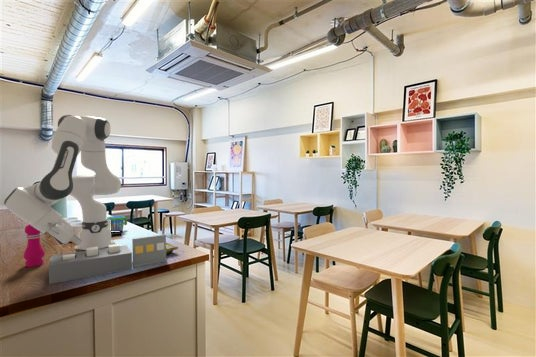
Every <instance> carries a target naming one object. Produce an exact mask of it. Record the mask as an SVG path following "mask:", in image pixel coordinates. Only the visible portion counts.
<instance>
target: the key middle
mask: <svg viewBox="0 0 536 357" xmlns="http://www.w3.org/2000/svg"><path fill="white" fill-rule="evenodd" d="M85 251H86V254H87V256H94V255H98V247H89V248H86V250H85Z"/></svg>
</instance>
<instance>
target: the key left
mask: <svg viewBox="0 0 536 357" xmlns="http://www.w3.org/2000/svg"><path fill="white" fill-rule="evenodd" d="M74 258H75V254H68V255H63V260H67V259H74Z"/></svg>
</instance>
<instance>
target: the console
mask: <svg viewBox="0 0 536 357" xmlns="http://www.w3.org/2000/svg"><path fill="white" fill-rule="evenodd" d="M68 254H75V258H74V259H67V260H63V255H68ZM132 262H133V251H132V250H130V247H129V246H128V245H127V244H126V245H120V252H114V253H108V247H105V248H101V249H98V255H94V256H87V254H86V250H83V251H82V250H81V251H76V252H68V253H59V254H55V255H54V254H53V255H51V257H50V259H49V263H48V285H53V284H58V283H62V282H68V281H74V280H80V279H84V278H85V279H86V278H90V277H95V276H101V275H107V274H112V273H118V272H123V271H128V270H133V265H132Z"/></svg>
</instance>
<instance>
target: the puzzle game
mask: <svg viewBox="0 0 536 357" xmlns="http://www.w3.org/2000/svg"><path fill="white" fill-rule="evenodd" d="M178 249H179V246H178V245H175V244H172V243H170V242H169V243H168V242H167V241H166V255H168V254H171V253H173V252H174V251H176V250H178Z"/></svg>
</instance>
